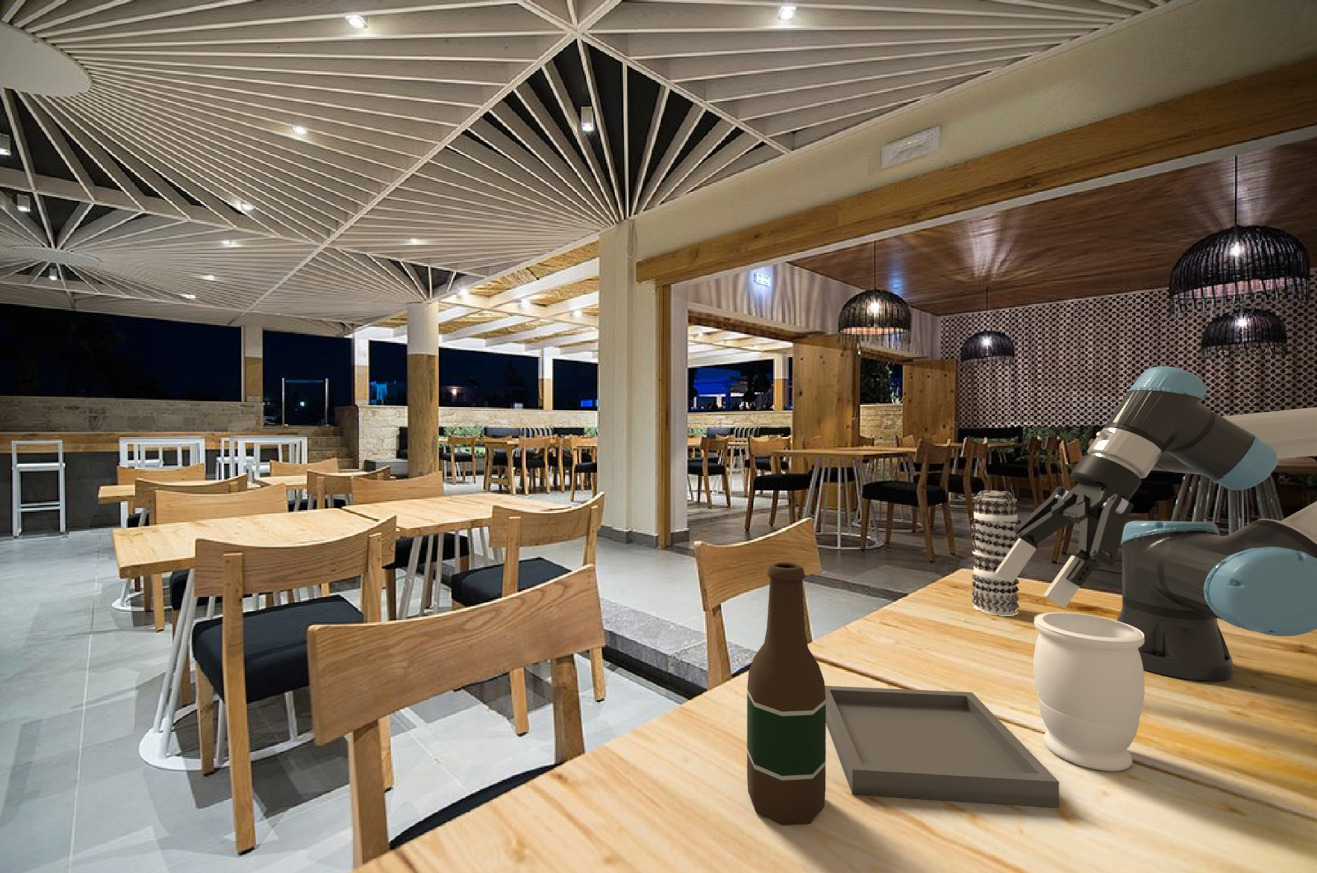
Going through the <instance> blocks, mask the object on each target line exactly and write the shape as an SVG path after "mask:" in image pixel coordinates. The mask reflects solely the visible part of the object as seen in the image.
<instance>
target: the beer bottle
mask: <svg viewBox="0 0 1317 873" xmlns="http://www.w3.org/2000/svg"><path fill="white" fill-rule="evenodd" d="M766 576H768V577H769V590H768V591H769V592H768V603H767V604H768V605H767V606H768V608H767V618H766V619H767V620H766V622H767V623H766V632H765V636H764V641H763V644H762V645H761V646H760V648H759V649H758V651H757V652H756V654H755V655H754V656H753V658H752V661H751V663H750V667H749V670H748V676H747V687H746V689H747V690H746V697H747V698H746V705H747V706H746V709H747V711H746V777H747V781H746V782H747V793H748V795H749V798H750V800H751V803H752V805H753V808H754V811H755V812H756V814H757V815H759V816H761V817H764V818H766V819H768V820H770V821H772V822H774V823H776V824H778V825H779V826H794V825H796V826H799V825H811V823H812V822H813V821H814V820H815V819H816V818H817V817H818V815H819V814H821V813H822V811H823V809H824V807H825V805H826V791H827V790H826V788H827V787H826V786H827V783H826V781H827V780H826V775H827V773H826V772H827V771H826V766H827V765H826V764H827V763H826V761H827V756H826V755H827V753H826V751H827V750H826V749H827V747H826V746H827V745H826V744H827V743H826V742H827V740H826V739H827V738H826V737H827V736H826V735H827V725H826V695H825V686H826V685H825V679H824V676H823V673H822V670H821V668H820V664H819V663H818V661H817V659H816V658H815V657H814V655H813V653H812V652H811V650H810V648H809V646H808V640H807V635H806V623H805V621H806V619H805V607H804V605H805V604H804V590H803V588H804V587H803V580H804V579H805V578H806V575H805V570H804V567H802V566H801V565H799V564H797V563H792V562H777V563H773V564H771V565H769V566H768V569H767V573H766Z"/></svg>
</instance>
